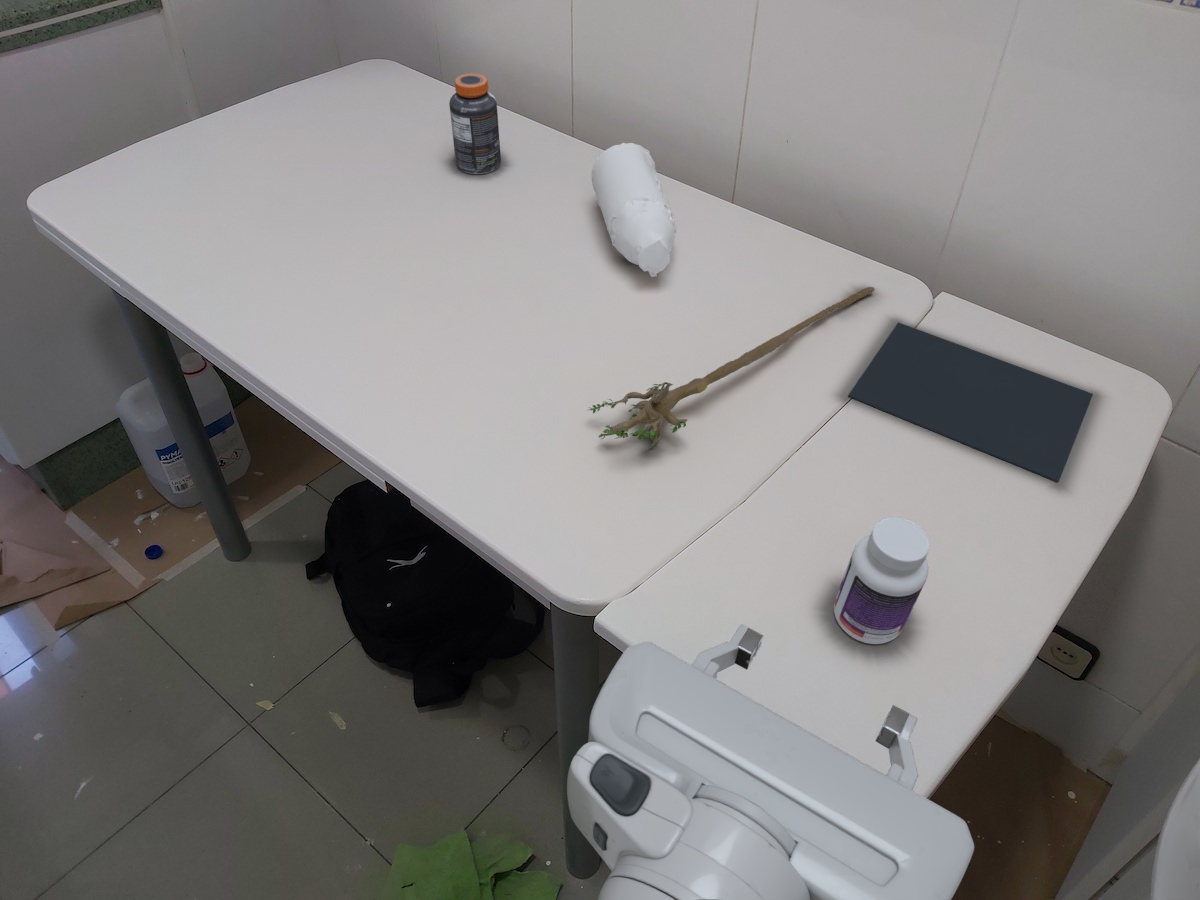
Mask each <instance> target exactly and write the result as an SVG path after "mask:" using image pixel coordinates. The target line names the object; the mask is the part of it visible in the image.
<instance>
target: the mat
mask: <svg viewBox="0 0 1200 900" xmlns="http://www.w3.org/2000/svg"><path fill="white" fill-rule="evenodd" d="M1093 394H1094V393H1091V392H1089V391H1087V390H1083V389H1080V388H1078V387H1076V386H1073V385H1070V384H1067V383H1065V382H1063V381H1060V380H1056V379H1054V378H1052V377H1049V376H1045V375H1042V374H1040V373H1038V372H1036V371H1035V372H1034V371H1032V370H1030V369H1027V368H1023V367H1020V366H1019V365H1015V364H1013V363H1010V362H1007V361H1004V360H1002V359H999V358H996V357H994V356H991V355H988V354H986V353H983V352H981V351H977V350H975V349H972V348H969V347H966V346H964V345H962V344H959V343H956V342H953V341H950V340H948V339H945V338H942V337H939V336H937V335H934V334H931V333H929V332H926V331H924V330H920V329H918V328H915V327H912V326H909V325H907V324H904V323H902V322H899V321H898V322H897V323H896V325H895V326H894V328H893V329H892V330H891V332H890V333H889V335H888V337H887V338H886V339H885V341H884V342H883V344H882V345H881V347H880V349H879V350H878V351H877V352H876V354H875V356H874V357H873V358H872V360H871V361H870V363H869V364H868V366H866V368H865V370H864V371H863V373H862V374H861V376H860V377H859V379H858V380H857V382H856V383H855V385H854V386H853V388H852V389H851V391H850V392H849V393H848V395H847V397H848V398H851V399H852V400H855V401H858V402H860V403H863V404H865V405H867V406H871V407H873V408H875V409H877V410H880V411H882V412H885V413H887V414H888V415H889V414H890V415H892V416H895V417H897V418H899V419H902V420H904V421H907V422H909V423H911V424H914V425H917V426H919V427H921V428H924V429H926V430H929V431H931V432H933V433H936V434H938V435H941V436H943V437H945V438H948V439H950V440H953V441H956V442H958V443H961V444H963V445H965V446H968V447H970V448H973V449H975V450H976V451H977V450H978V451H979V452H982V453H984V454H987V455H990V456H993V458H994V457H995V458H997V459H1000V460H1002V461H1004V462H1007V463H1009V464H1012V465H1014V466H1017V467H1019V468H1022V469H1024V470H1026V471H1028V472H1031V473H1034V474H1036V475H1038V476H1040V477H1043V478H1046V479H1048V480H1051V481H1052V482H1056V483H1059V482H1060V479H1061V477H1062V474H1063V472H1064V470H1065V466H1066V464H1067V461H1068V460H1069V457H1070V453H1071V451H1072V448H1073V446H1074V445H1075V441H1076V438H1077V436H1078V433H1079V431H1080V428H1081V426H1082V423H1083V420H1084V418H1085V415H1086V413H1087V410H1088V408H1089V405H1090V403H1091V400H1092V398H1093V396H1094V395H1093Z"/></svg>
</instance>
